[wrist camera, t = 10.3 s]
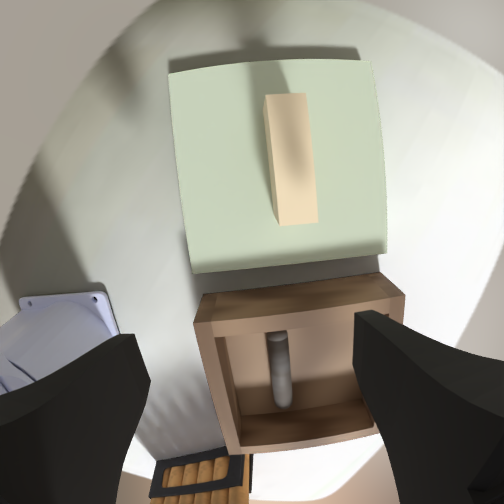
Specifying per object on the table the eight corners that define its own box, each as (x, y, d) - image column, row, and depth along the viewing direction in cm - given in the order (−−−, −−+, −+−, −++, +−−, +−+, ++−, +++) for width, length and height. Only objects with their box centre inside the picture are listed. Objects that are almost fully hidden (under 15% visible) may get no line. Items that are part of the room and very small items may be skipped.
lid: (197, 264, 20) (180, 297, 15) (175, 82, 17) (150, 54, 12) (376, 245, 20) (413, 271, 14) (361, 69, 16) (394, 42, 11)
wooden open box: (231, 419, 23) (229, 454, 19) (203, 294, 20) (192, 323, 16) (369, 400, 23) (383, 431, 19) (380, 271, 20) (405, 294, 16)
